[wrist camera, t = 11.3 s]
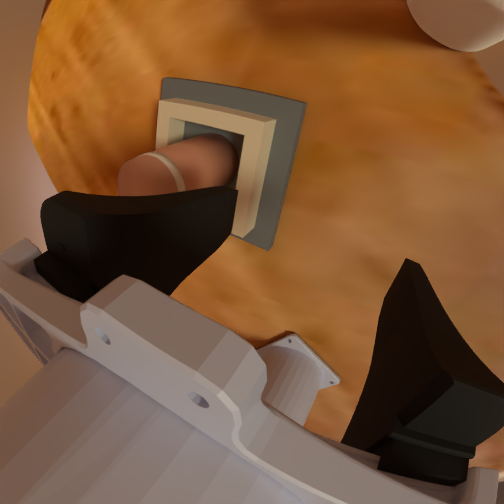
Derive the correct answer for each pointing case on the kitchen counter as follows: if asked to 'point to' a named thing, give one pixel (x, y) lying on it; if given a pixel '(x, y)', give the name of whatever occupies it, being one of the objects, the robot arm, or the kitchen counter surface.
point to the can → (460, 22)
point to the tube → (180, 167)
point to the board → (239, 144)
